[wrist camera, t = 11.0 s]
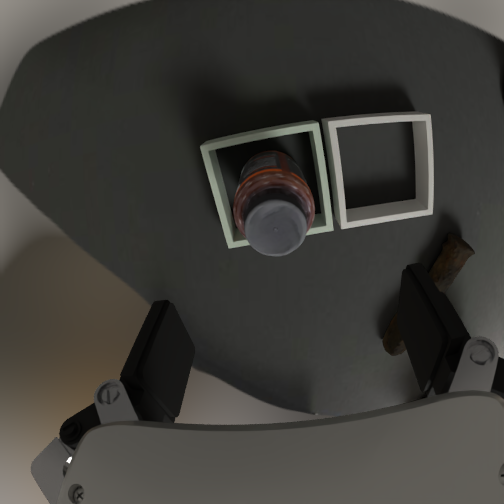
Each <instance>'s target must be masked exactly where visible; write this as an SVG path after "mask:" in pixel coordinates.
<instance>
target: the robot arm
mask: <svg viewBox="0 0 504 504" xmlns="http://www.w3.org/2000/svg"><path fill="white" fill-rule="evenodd" d="M397 326H398V329H399V331H400V334H401V336H402V339H403V342H404V344H405V347H406V349H407V352H408V355H409V358H410V360H411V363H412V366H413V369H414V372H415V375H416V377H417V380H418V383H419V386H420V389H421V391H422V392H423V391H425V393H426V396H427V398H424V399H420V400H416V401H412V402H408V403H404V404H400V405H396V406H391V407H386V408H382V409H377V410H372V411H367V412H362V413H357V414H351V415H345V416H338V417H332V418H325V419H317V420H309V421H299V422H287V423H273V424H250V425H204V424H182V423H174V421H175V417H178V416H179V413H180V409H181V405H182V401H183V397H184V393H185V389H186V385H187V381H188V377H189V374H190V370H191V366H192V362H193V358H194V354H195V347H194V344H193V342H192V340H191V338H190V336H189V334H188V332H187V330H186V328H185V326H184V324H183V322H182V320H181V318H180V316H179V314H178V312H177V310H176V308H175V306H174V304H173V303H170V302H169V301H168V300H161V301H155V302H154V303H153V304H152V307H151V309H150V311H149V313H148V315H147V317H146V319H145V321H144V324H143V325H142V328H141V330H140V332H139V334H138V336H137V338H136V341H135V343H134V345H133V347H132V349H131V352H130V354H129V356H128V358H127V361H126V363H125V365H124V367H123V370H122V372H121V374H120V375H121V377H120V380H116V379H110V380H107V381H105V382H103V383H102V384H100V385H99V387H98V388H97V389H96V391H95V394H94V403H93V404H91V405H90V406H88V407H86V408H85V409H83V410H82V411H80V412H78V413H77V414H75V415H74V416H72V417H70V418H69V419H67V420H66V421H65V422H64V423H63V425H62V426H61V428H60V433H59V434H60V438H59V439H58V438H57V437H56V438H55V439H54V440H53V441H52V442H51V443H50V444H49V445H48V446H47V447H46V448H45V449H44V450H43V451H42V452H41V453H40V454H39V455H38V456H37V457H36V458H35V459H34V461H33V462H32V465H31V473H32V475H33V477H34V479H35V481H36V482H37V484H38V486H39V487H40V489H41V491H42V492H43V494H44V495H45V497H46V498H47V500H48V501H49V503H50V504H504V359H503V358H500V357H498V353H499V352H498V349H497V347H496V345H495V344H494V342H492V341H491V340H490V339H488V338H486V337H481V336H479V337H474V338H471V337H470V335H469V333H468V332H467V330H466V328H465V326H464V324H463V323H462V321H461V319H460V318H459V316H458V314H457V313H456V311H455V309H454V308H453V306H452V304H451V303H450V301H449V300H448V298H447V296H446V295H445V294H444V292H442V291H441V292H440V291H439V289H438V288H437V286H436V285H435V283H434V282H433V280H432V279H431V277H430V275H429V274H428V273H427V271H426V270H425V268H424V267H423V265H422V264H421V263H416V264H410V265H407V267H406V269H404V270H403V271H402V280H401V290H400V298H399V306H398V314H397ZM434 395H436V396H434ZM431 396H432V397H431Z"/></svg>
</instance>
